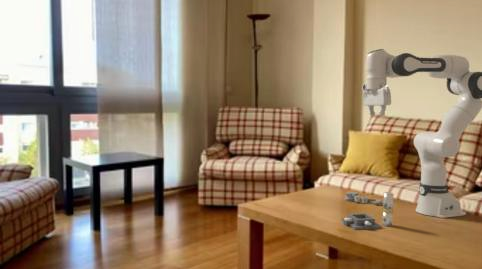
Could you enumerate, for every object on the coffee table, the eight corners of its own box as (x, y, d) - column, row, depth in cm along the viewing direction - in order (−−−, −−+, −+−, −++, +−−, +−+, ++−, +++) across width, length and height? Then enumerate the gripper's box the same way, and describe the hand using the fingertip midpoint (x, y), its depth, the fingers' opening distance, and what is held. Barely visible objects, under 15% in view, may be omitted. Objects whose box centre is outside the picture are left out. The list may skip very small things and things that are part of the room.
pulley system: (362, 209, 209) (386, 205, 214) (362, 200, 208) (386, 196, 214) (331, 198, 234) (353, 195, 239) (330, 190, 234) (353, 187, 239)
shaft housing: (366, 219, 188) (367, 211, 188) (382, 229, 175) (382, 221, 174) (338, 220, 186) (339, 212, 186) (352, 230, 172) (352, 222, 172)
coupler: (388, 223, 183) (390, 192, 182) (393, 226, 179) (395, 194, 178) (380, 223, 182) (382, 192, 181) (385, 226, 178) (386, 194, 177)
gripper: (394, 83, 180) (395, 115, 181) (372, 86, 200) (373, 114, 201) (381, 84, 179) (381, 116, 180) (360, 86, 199) (361, 115, 200)
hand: (377, 115), depth 191 cm, fingers open, 8 cm apart
